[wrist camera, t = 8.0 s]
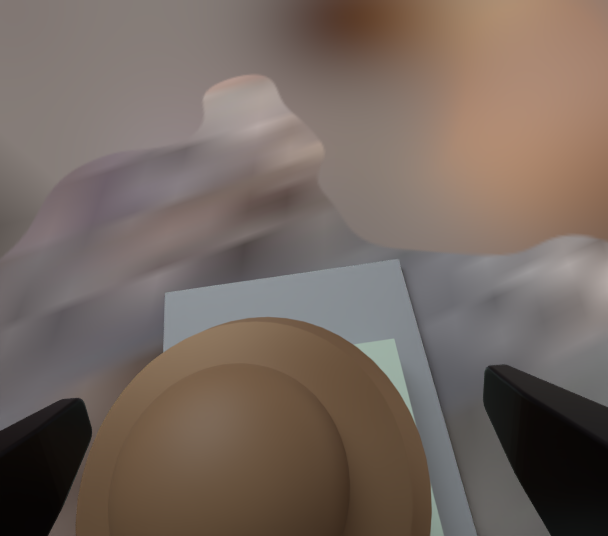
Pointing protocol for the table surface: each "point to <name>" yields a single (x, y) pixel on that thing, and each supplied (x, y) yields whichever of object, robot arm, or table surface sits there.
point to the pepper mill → (257, 442)
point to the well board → (357, 330)
